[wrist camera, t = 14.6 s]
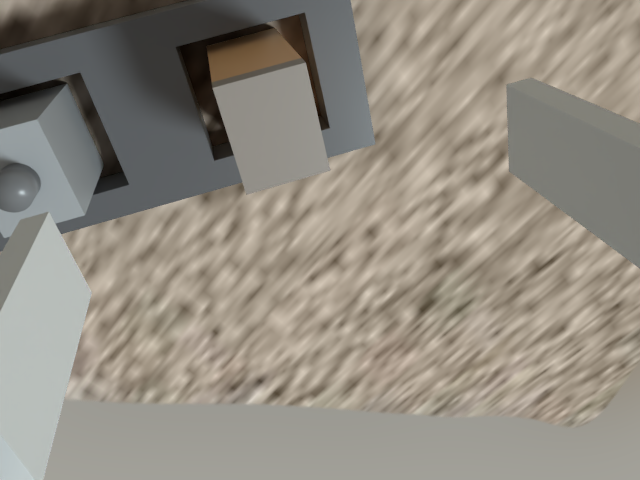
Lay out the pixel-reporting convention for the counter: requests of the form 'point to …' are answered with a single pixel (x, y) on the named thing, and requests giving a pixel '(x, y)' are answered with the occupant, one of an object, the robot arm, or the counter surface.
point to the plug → (267, 109)
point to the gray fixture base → (151, 109)
